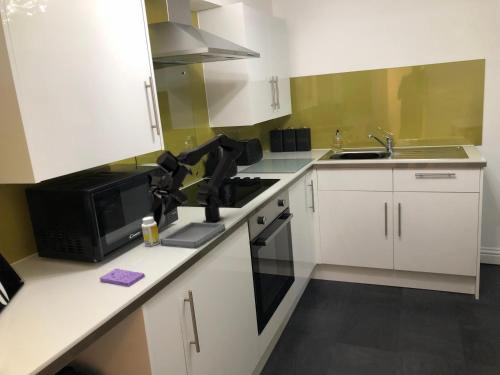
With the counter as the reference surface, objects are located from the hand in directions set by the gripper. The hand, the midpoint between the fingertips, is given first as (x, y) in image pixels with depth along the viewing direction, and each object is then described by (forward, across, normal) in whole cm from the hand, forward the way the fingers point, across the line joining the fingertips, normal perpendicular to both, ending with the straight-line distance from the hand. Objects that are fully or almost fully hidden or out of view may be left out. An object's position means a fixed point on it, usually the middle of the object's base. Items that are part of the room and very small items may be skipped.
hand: (157, 213), depth 157 cm
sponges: (+28, +20, -11) cm, 35 cm away
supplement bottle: (+11, 0, +5) cm, 12 cm away
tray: (+2, +10, +14) cm, 17 cm away
